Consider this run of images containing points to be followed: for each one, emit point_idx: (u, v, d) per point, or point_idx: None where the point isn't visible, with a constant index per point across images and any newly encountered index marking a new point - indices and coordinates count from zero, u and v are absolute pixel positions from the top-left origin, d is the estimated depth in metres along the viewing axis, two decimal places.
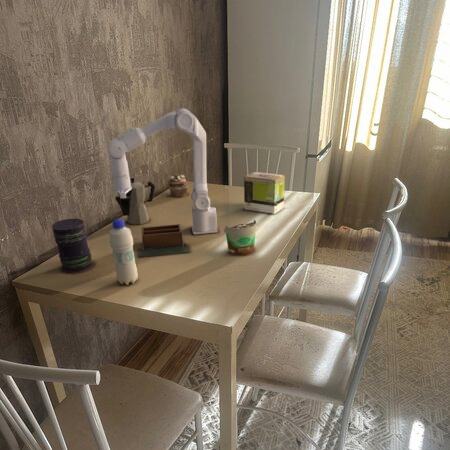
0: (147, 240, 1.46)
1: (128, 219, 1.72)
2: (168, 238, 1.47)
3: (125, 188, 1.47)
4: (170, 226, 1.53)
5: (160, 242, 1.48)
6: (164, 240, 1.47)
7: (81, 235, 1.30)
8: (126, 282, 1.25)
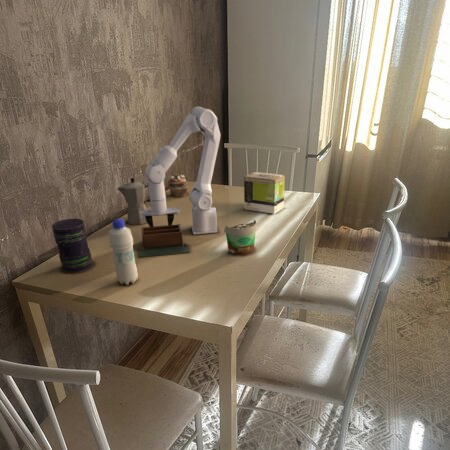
0: (147, 240, 1.46)
1: (128, 219, 1.72)
2: (168, 238, 1.47)
3: (151, 211, 1.51)
4: (170, 226, 1.53)
5: (160, 242, 1.48)
6: (164, 240, 1.47)
7: (81, 235, 1.30)
8: (126, 282, 1.25)
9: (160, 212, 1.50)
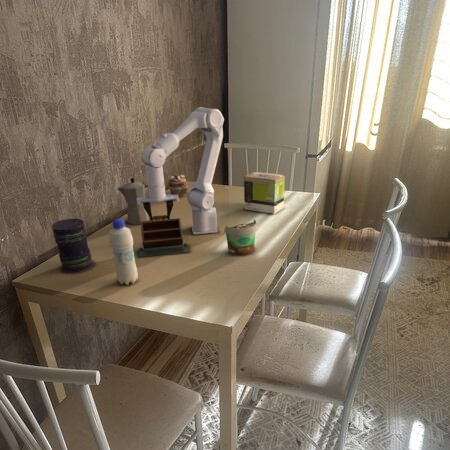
0: (147, 244, 1.45)
1: (128, 219, 1.72)
2: (169, 242, 1.46)
3: (149, 197, 1.44)
4: (170, 220, 1.47)
5: (160, 244, 1.47)
6: (164, 243, 1.46)
7: (81, 235, 1.30)
8: (126, 282, 1.25)
9: (158, 198, 1.43)
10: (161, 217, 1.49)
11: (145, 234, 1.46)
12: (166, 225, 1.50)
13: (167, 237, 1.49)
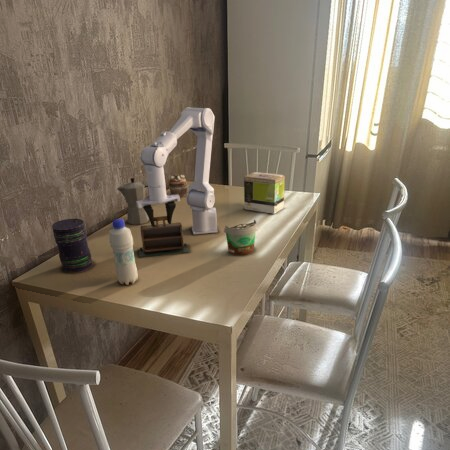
0: None
1: (128, 219, 1.72)
2: None
3: (151, 199, 1.36)
4: None
5: None
6: None
7: (81, 235, 1.30)
8: (126, 282, 1.25)
9: (161, 200, 1.36)
10: (161, 219, 1.42)
11: None
12: None
13: None
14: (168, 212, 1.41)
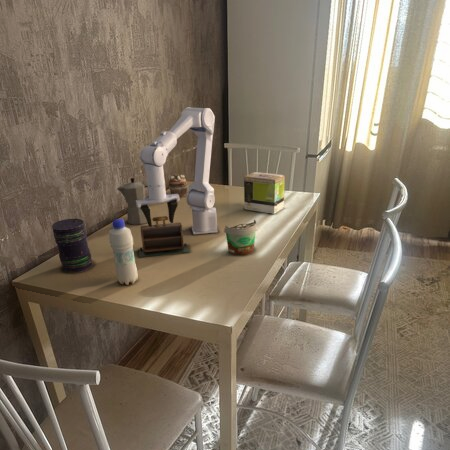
0: None
1: (128, 219, 1.72)
2: None
3: (150, 199, 1.36)
4: (171, 227, 1.42)
5: None
6: None
7: (81, 235, 1.30)
8: (126, 282, 1.25)
9: (161, 199, 1.36)
10: (161, 220, 1.42)
11: None
12: None
13: None
14: (170, 211, 1.41)
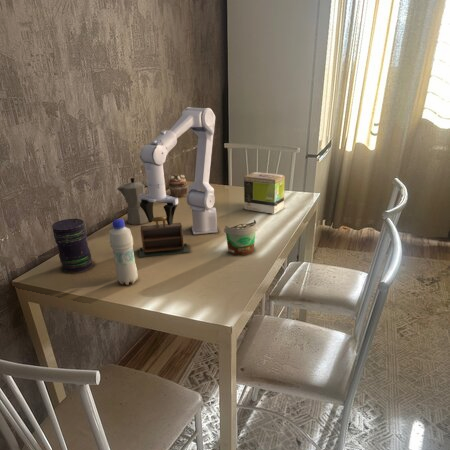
0: None
1: (128, 219, 1.72)
2: None
3: (166, 195, 1.38)
4: (171, 228, 1.42)
5: None
6: None
7: (81, 235, 1.30)
8: (126, 282, 1.25)
9: None
10: (161, 220, 1.42)
11: None
12: None
13: None
14: (151, 209, 1.42)
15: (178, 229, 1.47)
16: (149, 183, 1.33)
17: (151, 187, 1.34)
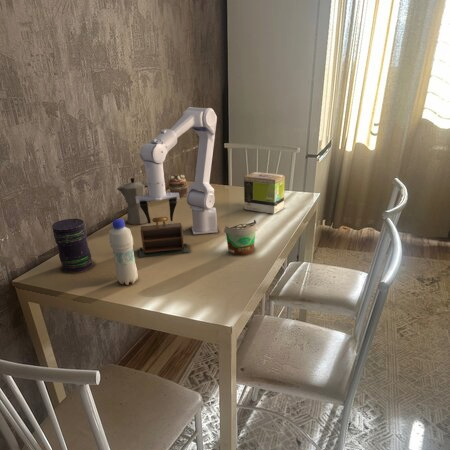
0: None
1: (128, 219, 1.72)
2: None
3: None
4: (171, 228, 1.42)
5: None
6: None
7: (81, 235, 1.30)
8: (126, 282, 1.25)
9: None
10: (162, 220, 1.42)
11: None
12: None
13: None
14: None
15: (178, 229, 1.46)
16: (149, 181, 1.34)
17: (156, 186, 1.34)
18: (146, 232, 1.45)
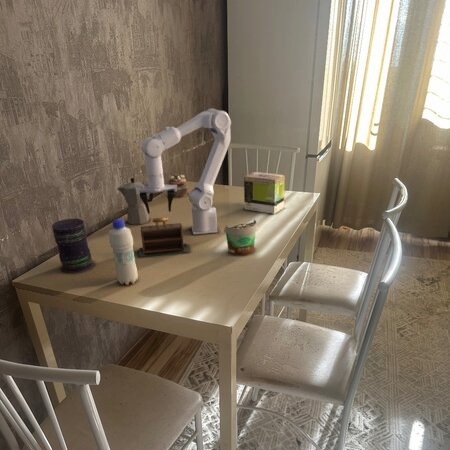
0: None
1: (128, 219, 1.72)
2: None
3: None
4: (171, 229, 1.42)
5: None
6: None
7: (81, 235, 1.30)
8: (126, 282, 1.25)
9: None
10: (162, 221, 1.41)
11: None
12: None
13: None
14: None
15: (178, 229, 1.46)
16: None
17: (155, 178, 1.43)
18: (146, 232, 1.45)
